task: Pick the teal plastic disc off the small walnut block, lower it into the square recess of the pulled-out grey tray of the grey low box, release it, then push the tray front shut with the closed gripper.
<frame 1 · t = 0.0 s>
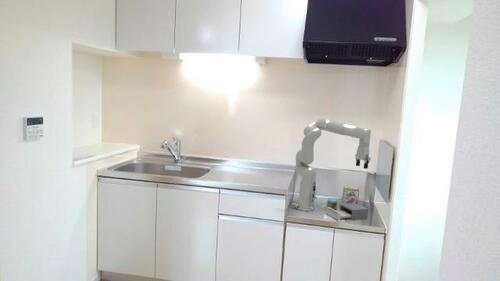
hand: (361, 167, 249), 31 cm above the table, fingers open, 9 cm apart
block: (331, 209, 241), on the table
tray: (340, 213, 226), point 3 cm above the table, slide at 9.0 cm
disc: (332, 201, 241), point 6 cm above the table, touching block
grey low box: (352, 215, 230), on the table
candy bar box: (349, 209, 246), on the table
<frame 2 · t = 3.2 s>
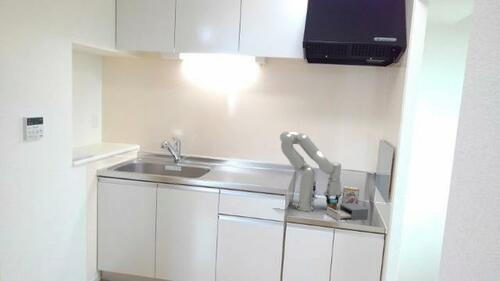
hand: (332, 202, 241), 5 cm above the table, fingers closed on disc, 6 cm apart
disc: (332, 201, 241), point 6 cm above the table, touching block, gripper
everything else where it was.
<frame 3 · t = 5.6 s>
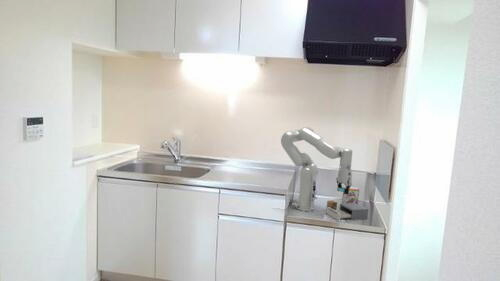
hand: (342, 192, 224), 18 cm above the table, fingers closed on disc, 6 cm apart
disc: (342, 190, 224), point 19 cm above the table, touching gripper
everything else where it was.
when the fingers open (3 cm above the table, at t = 7.8 s): disc drops 2 cm, resting on tray.
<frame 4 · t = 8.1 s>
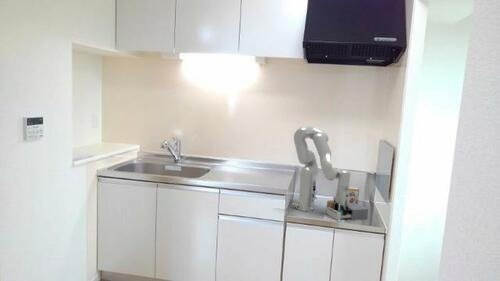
hand: (340, 212, 225), 3 cm above the table, fingers open, 9 cm apart
tray: (340, 213, 226), point 3 cm above the table, slide at 9.0 cm, touching disc
disc: (340, 213, 226), point 2 cm above the table, touching tray
everything else where it was.
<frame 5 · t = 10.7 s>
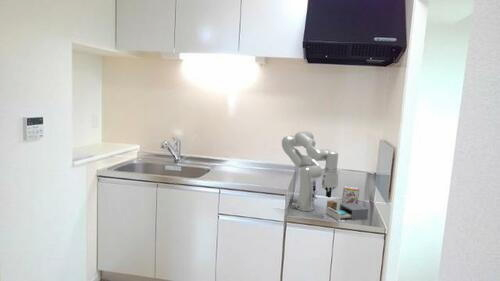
hand: (328, 196, 220), 15 cm above the table, fingers closed
nothing on the table moved.
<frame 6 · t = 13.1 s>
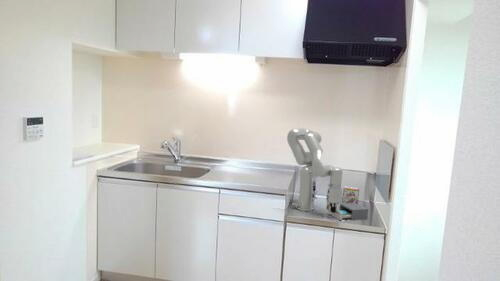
hand: (332, 212, 223), 4 cm above the table, fingers closed
tray: (342, 212, 226), point 3 cm above the table, slide at 7.6 cm, touching disc, gripper
disc: (341, 213, 226), point 2 cm above the table, touching tray
everything else where it was.
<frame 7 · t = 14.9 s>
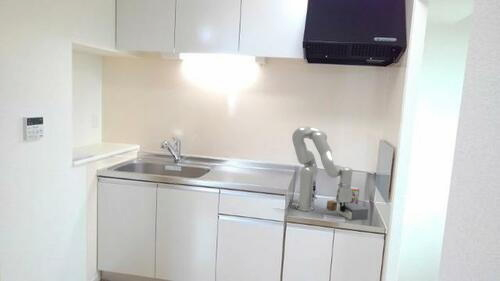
hand: (342, 211, 226), 4 cm above the table, fingers closed
tray: (351, 212, 229), point 3 cm above the table, slide at -0.2 cm, touching disc, gripper
disc: (351, 213, 229), point 2 cm above the table, touching tray
everything else where it was.
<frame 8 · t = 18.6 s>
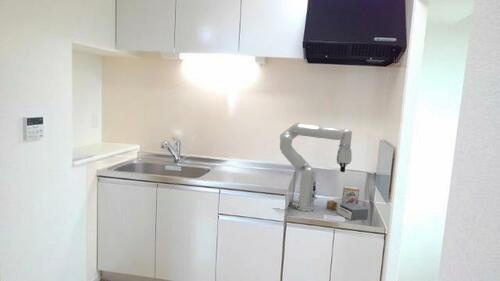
hand: (342, 171, 236), 29 cm above the table, fingers closed
tray: (351, 212, 229), point 3 cm above the table, slide at 0.0 cm, touching disc
everything else where it was.
at the end: tray slide at 0.0 cm; disc 0.1 cm from the target spot on the grey low box, point 2.1 cm above the grey low box's base; disc tilted 0° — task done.
